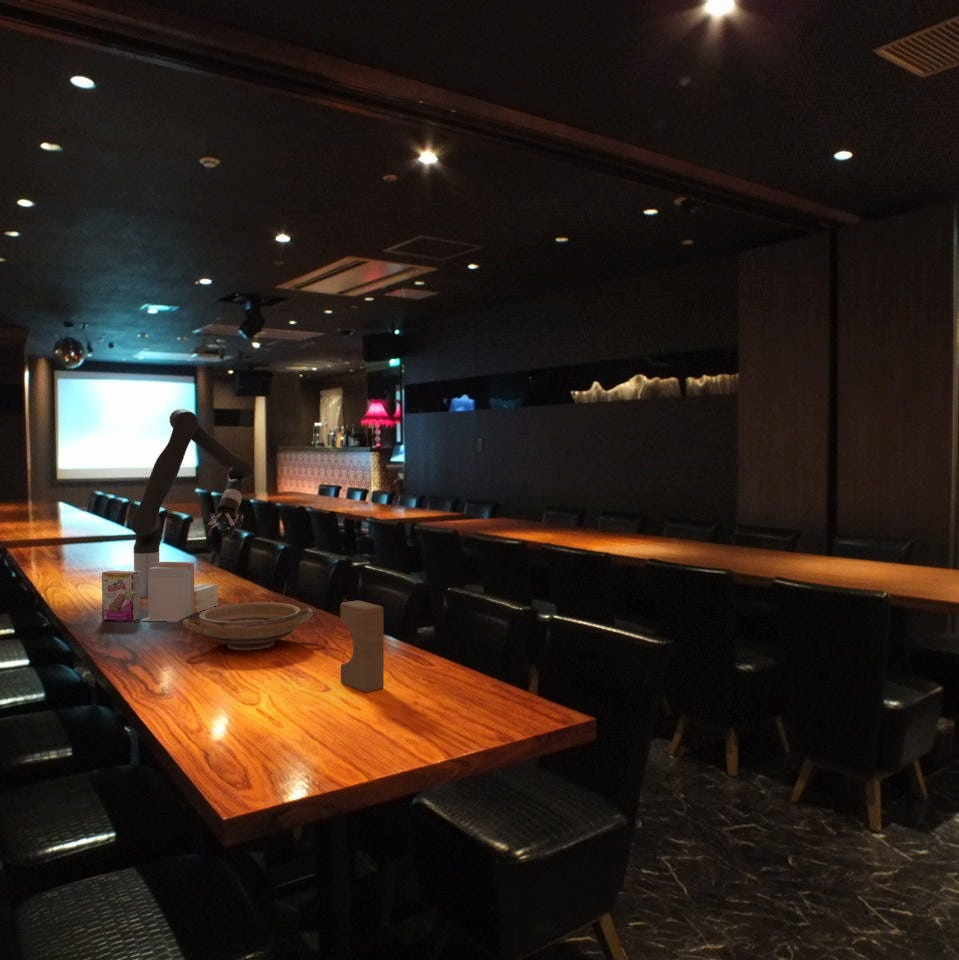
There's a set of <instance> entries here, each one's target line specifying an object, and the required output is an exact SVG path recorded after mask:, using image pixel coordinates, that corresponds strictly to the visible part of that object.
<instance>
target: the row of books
mask: <svg viewBox="0 0 959 960" xmlns="http://www.w3.org/2000/svg"><path fill="white" fill-rule="evenodd" d="M194 586H195V562H194V561H189V562H188V561H159V562H158V563H157V567H152V568H149V577H148V598H147V601H148V604H147V605H148V614H147V615H148V616H146V617H145V618H142V619H141V622H142V621H167V622H166V623H178V622H180V621H182V620H184V619H186V618H188V617H190V616H192V615H194V614H193V613H195V599H194ZM191 614H192V615H191ZM189 615H190V616H189ZM187 616H188V617H187ZM185 617H186V618H185ZM183 618H184V619H183ZM181 619H182V620H181ZM179 620H180V621H179Z"/></svg>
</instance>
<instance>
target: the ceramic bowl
mask: <svg viewBox="0 0 959 960" xmlns="http://www.w3.org/2000/svg"><path fill="white" fill-rule="evenodd" d="M313 616H314V611H313V609H312V608H305V609H302V610H301V608H300V607H299V606H298V605H297V606H296V605H293V604H290V603H283V602H270V601H268V602H267V601H260V602H259V601H257V602H256V601H255V602H254V601H253V602H239V603H231V604H225V605H218V606H216V607H213V608H211V609H208V610H205V611H202V612H199V616H198V617H199V618H200V619H199V620H200V621H196V620H193V619H189V618H184V619H183V622H182V625H183V626H184V627H185V628H187V629H188V630H191V631H193V632H196V633H199V634H203V635H206V636H207V637H208V638H210V639H212V640H214V641H216V642H219V643H222V644H225V645H227V647H228V649H230V650H234V651H241V652H242V651H245V652H246V651H258V650H259V651H260V650H263V649H267V648H268V649H269V648H271V647H272V646H273V645H275V642H276V641H278V640H281V639H283V638H286V637H287V636H288V635H290V634H291V633H293V632H294V631H295V629H296V628H297V627H298V626H299V625H302V624H303V623H305V622H307V621H309V620H310V619H311V618H312V617H313Z"/></svg>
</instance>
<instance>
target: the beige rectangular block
mask: <svg viewBox="0 0 959 960" xmlns="http://www.w3.org/2000/svg"><path fill="white" fill-rule="evenodd" d="M194 599H195V613H197V612H199V613H201V612H200V611H202V612H203V610H206V609H209V608H211V607H213V608H214V606H216V607H218V606H219V586H218V584H215V583H214V584H211V583H199V584H196V585H195V584H194ZM217 605H218V606H217ZM197 614H198V613H197Z"/></svg>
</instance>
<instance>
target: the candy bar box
mask: <svg viewBox="0 0 959 960" xmlns="http://www.w3.org/2000/svg"><path fill="white" fill-rule="evenodd" d="M101 605H102V606H101V608H102V611H101V613H102V618H101V619H102V621H104V620H116V621H115V622H135V620H136V621H138V620H140V619H141V598H140V571H134V570H112V569H111V570H110V569H109V570H106V571H103V572H101ZM137 619H138V620H137ZM117 620H118V621H117Z"/></svg>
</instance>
